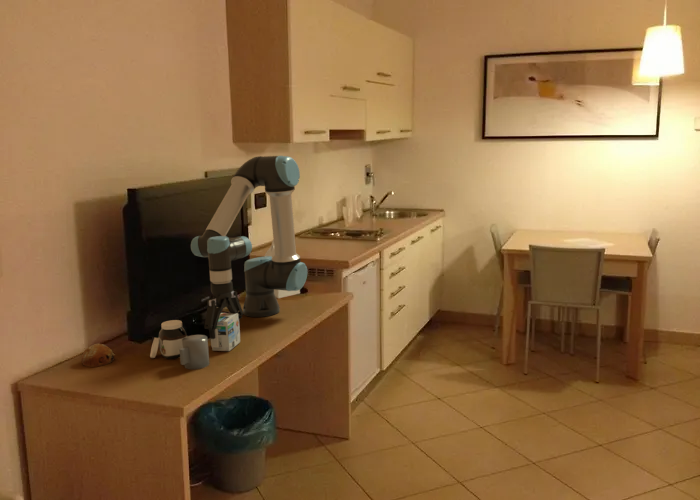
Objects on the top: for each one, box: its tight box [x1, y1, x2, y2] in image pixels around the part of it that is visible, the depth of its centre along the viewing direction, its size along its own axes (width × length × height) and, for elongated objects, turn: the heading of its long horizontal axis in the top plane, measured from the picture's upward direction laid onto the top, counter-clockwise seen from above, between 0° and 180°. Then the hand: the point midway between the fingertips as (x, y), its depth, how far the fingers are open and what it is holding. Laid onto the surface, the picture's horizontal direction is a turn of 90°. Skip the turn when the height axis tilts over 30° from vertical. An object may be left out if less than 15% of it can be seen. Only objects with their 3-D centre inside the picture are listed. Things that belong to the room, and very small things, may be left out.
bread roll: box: [81, 343, 116, 368], centre depth 219 cm, size 10×10×8 cm
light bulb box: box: [211, 312, 241, 352], centre depth 228 cm, size 11×7×11 cm, turn 168°
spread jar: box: [149, 319, 188, 360], centre depth 221 cm, size 12×11×12 cm
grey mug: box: [179, 334, 210, 370], centre depth 211 cm, size 11×8×9 cm
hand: (226, 341), depth 229 cm, fingers closed on light bulb box, 11 cm apart
